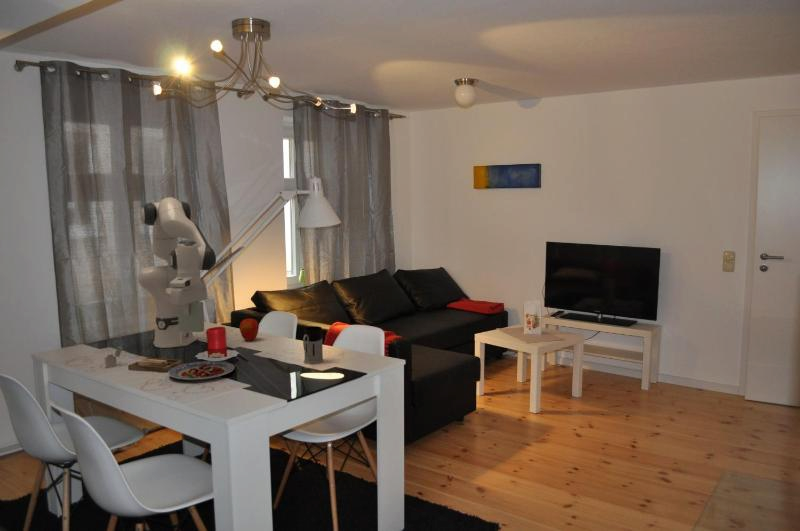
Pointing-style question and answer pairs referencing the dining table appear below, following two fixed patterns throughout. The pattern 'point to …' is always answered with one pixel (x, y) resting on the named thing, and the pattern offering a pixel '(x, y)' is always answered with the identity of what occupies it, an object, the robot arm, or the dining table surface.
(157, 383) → the dining table surface
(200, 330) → the grey-green rectangular block
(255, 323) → the apple
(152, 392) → the dining table surface
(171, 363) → the walnut rack
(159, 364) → the offcut stack
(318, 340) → the glass holder
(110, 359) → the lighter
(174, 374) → the ceramic plate
